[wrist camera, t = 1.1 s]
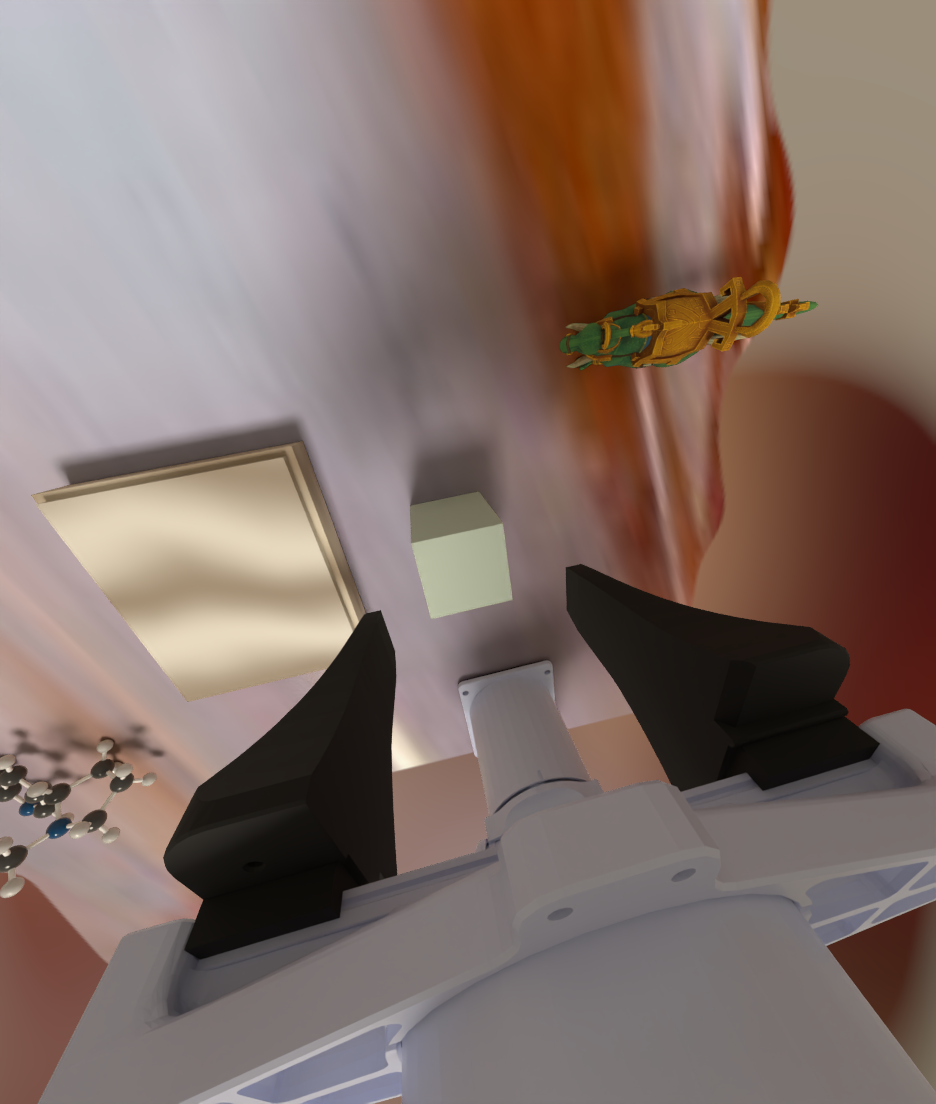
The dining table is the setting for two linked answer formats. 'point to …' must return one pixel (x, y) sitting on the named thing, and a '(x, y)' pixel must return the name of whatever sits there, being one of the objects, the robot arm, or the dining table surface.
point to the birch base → (217, 565)
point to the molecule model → (57, 807)
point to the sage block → (460, 554)
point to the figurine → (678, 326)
